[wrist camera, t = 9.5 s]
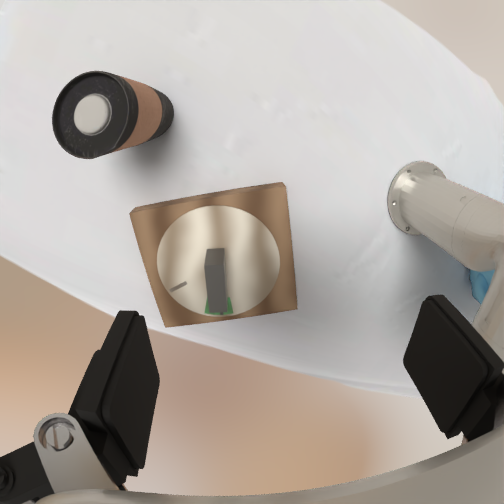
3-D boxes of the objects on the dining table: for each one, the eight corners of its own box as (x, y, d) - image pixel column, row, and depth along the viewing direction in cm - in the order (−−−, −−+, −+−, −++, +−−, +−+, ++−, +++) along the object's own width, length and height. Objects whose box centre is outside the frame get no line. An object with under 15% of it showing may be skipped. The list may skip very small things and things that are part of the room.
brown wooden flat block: (282, 182, 44) (286, 187, 41) (294, 299, 52) (298, 311, 49) (135, 207, 44) (128, 214, 41) (168, 317, 52) (164, 329, 49)
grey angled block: (207, 245, 43) (204, 265, 37) (224, 244, 43) (223, 264, 37) (214, 313, 48) (212, 338, 42) (229, 312, 48) (229, 338, 42)
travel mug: (137, 81, 36) (70, 60, 18) (184, 99, 38) (146, 84, 20) (116, 130, 39) (40, 144, 21) (162, 148, 41) (110, 173, 22)
